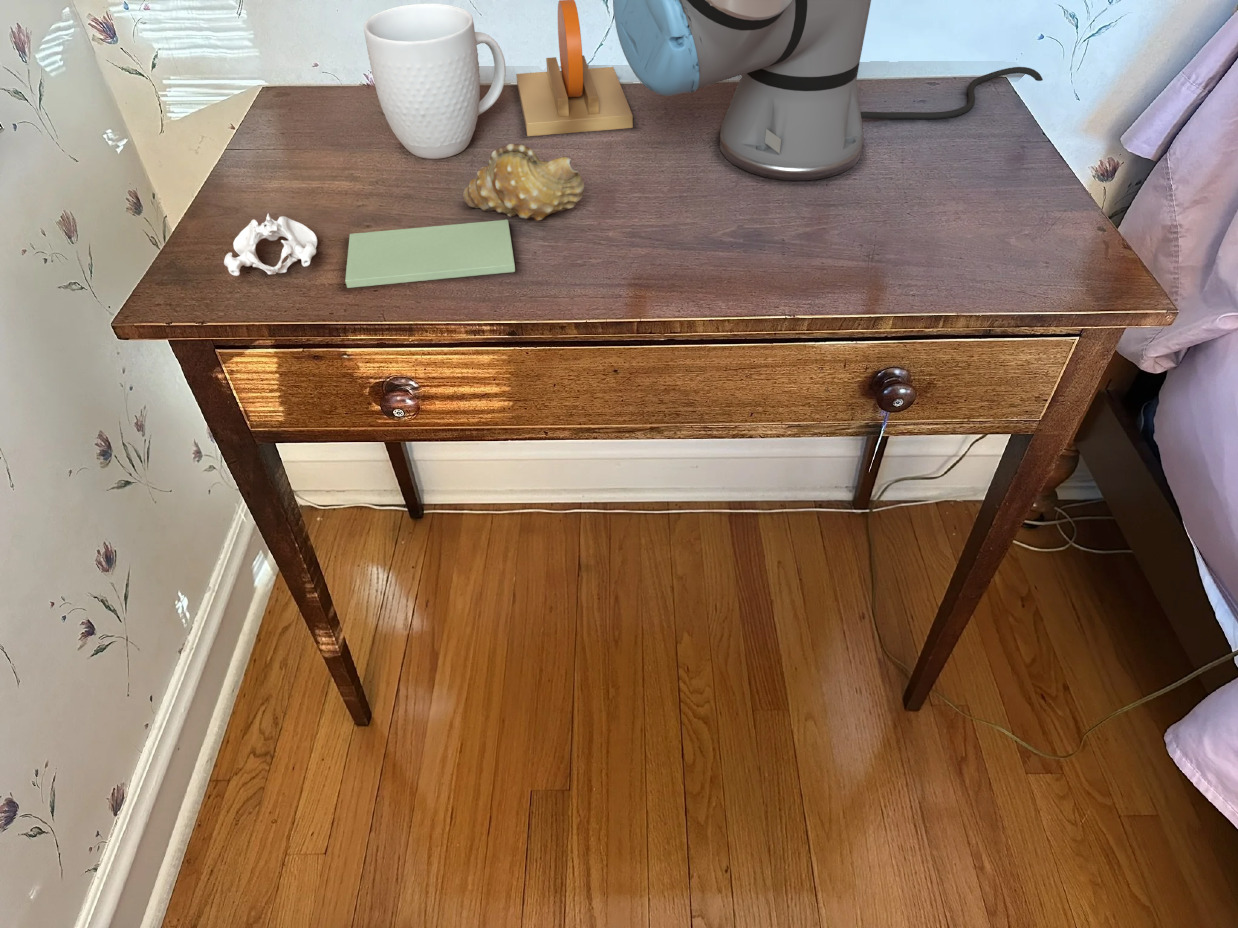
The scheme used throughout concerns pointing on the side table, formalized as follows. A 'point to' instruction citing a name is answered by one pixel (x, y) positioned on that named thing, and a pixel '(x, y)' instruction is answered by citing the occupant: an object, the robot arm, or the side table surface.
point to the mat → (429, 253)
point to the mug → (430, 75)
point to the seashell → (524, 184)
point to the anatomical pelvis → (296, 247)
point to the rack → (572, 102)
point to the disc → (570, 48)
